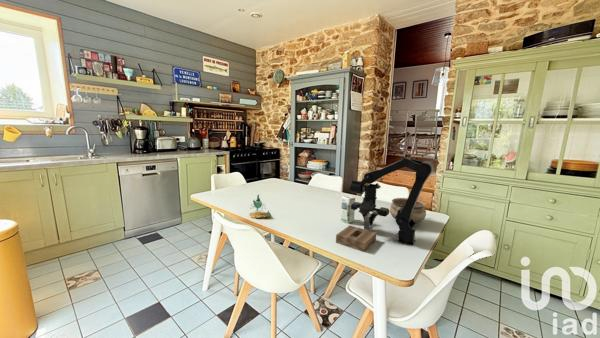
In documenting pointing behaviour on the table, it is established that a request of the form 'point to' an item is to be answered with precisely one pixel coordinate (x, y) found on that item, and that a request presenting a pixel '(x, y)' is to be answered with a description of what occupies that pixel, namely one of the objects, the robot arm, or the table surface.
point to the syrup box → (347, 209)
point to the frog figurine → (257, 205)
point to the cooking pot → (418, 209)
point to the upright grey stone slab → (367, 222)
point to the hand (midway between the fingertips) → (368, 224)
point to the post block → (356, 238)
